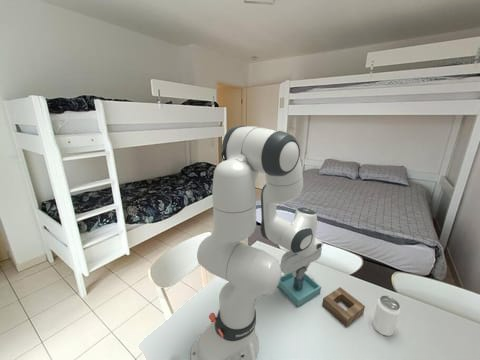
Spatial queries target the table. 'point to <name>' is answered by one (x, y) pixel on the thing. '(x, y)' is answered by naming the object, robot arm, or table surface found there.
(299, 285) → the pin
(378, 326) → the can
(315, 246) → the robot arm
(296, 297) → the tray
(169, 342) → the table surface
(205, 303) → the table surface
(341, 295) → the pin block
